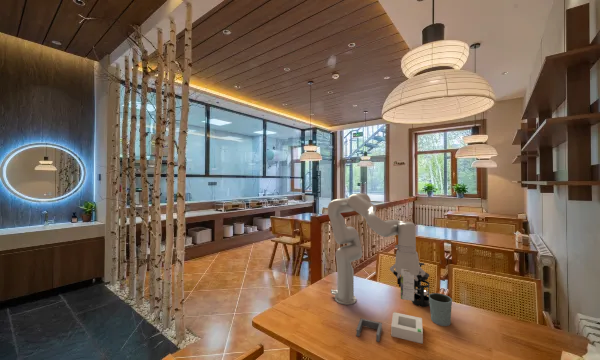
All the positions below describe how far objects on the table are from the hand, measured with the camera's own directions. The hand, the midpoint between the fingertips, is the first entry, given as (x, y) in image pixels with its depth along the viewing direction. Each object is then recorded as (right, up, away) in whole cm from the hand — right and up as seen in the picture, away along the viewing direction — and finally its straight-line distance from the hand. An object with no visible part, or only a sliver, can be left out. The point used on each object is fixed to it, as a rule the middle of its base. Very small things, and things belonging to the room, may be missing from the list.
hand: (407, 286), depth 116 cm
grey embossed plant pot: (+20, -21, +9) cm, 31 cm away
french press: (+19, -21, +27) cm, 39 cm away
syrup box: (0, -5, 0) cm, 5 cm away
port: (0, -21, 0) cm, 21 cm away
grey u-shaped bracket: (-18, -21, 0) cm, 28 cm away
